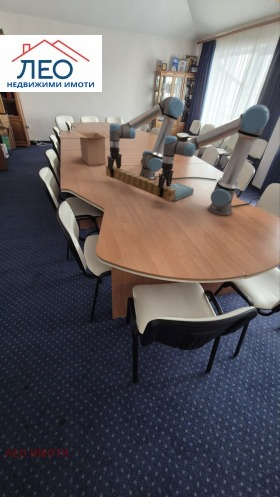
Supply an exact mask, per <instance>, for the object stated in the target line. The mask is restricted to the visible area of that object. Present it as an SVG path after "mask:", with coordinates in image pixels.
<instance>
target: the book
mask: <svg viewBox="0 0 280 497" xmlns="http://www.w3.org/2000/svg"><path fill="white" fill-rule="evenodd" d="M170 187H172V188H174V189H176V190H175V196H174V200H172V201H173V202H176V201H179V200H182V199H184V198H186V197H188V196H191V195H193V194H194V188H193V187H191V186H188V185H185V184H183V183H180V182H175V183H171V186H170Z"/></svg>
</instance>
